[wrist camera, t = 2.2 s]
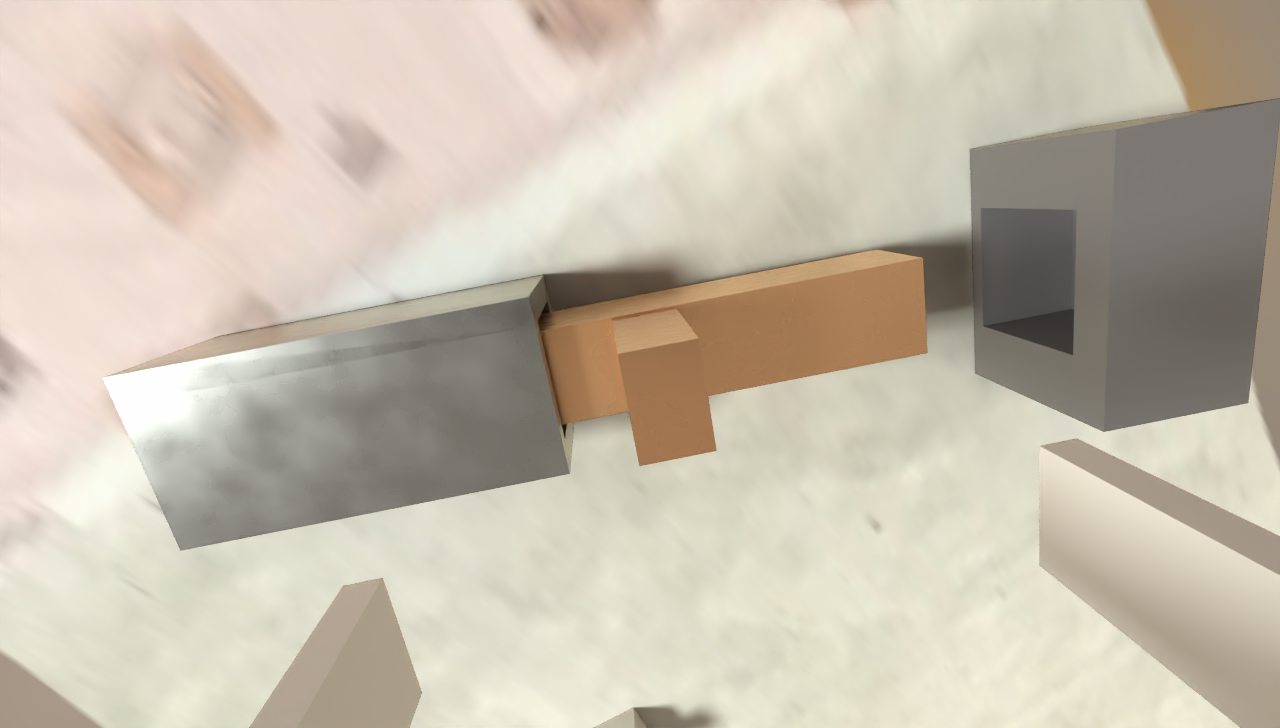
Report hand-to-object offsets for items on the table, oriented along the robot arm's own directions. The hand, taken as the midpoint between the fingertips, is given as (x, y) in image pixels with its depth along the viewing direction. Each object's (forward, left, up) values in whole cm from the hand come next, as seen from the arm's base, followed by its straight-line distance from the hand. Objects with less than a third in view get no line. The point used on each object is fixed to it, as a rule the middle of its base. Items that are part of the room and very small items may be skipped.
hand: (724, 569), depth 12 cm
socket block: (0, +22, -21) cm, 30 cm away
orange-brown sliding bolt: (0, -2, -20) cm, 20 cm away
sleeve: (0, -13, -21) cm, 25 cm away
